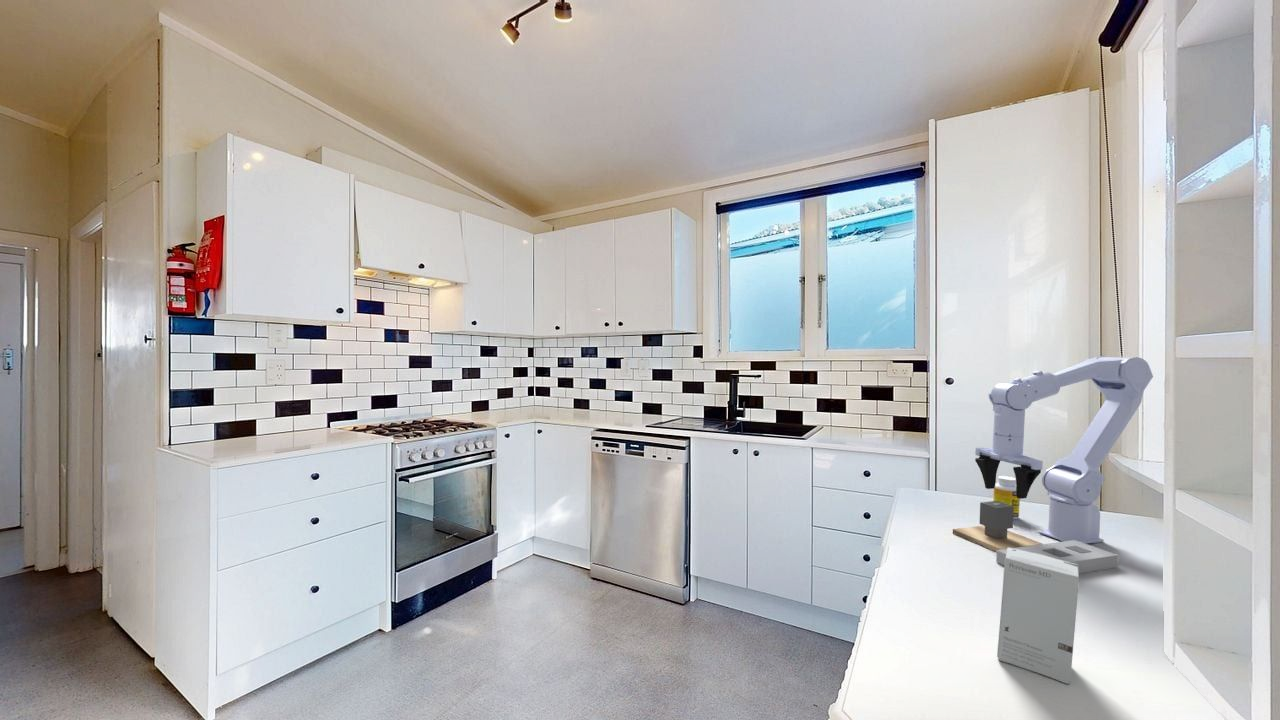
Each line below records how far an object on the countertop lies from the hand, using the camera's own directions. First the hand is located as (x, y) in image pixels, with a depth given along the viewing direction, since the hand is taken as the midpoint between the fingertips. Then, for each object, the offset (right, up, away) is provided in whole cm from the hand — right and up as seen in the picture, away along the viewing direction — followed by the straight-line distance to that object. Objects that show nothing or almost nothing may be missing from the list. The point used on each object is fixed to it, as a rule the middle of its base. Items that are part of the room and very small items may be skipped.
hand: (1005, 493), depth 117 cm
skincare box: (-29, -12, -46) cm, 56 cm away
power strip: (0, -11, -14) cm, 18 cm away
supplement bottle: (+11, -10, +15) cm, 21 cm away
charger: (-3, -10, -2) cm, 10 cm away
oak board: (-3, -10, -2) cm, 11 cm away
